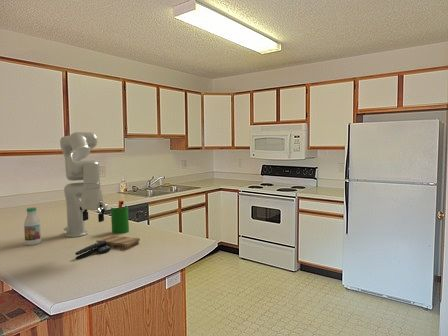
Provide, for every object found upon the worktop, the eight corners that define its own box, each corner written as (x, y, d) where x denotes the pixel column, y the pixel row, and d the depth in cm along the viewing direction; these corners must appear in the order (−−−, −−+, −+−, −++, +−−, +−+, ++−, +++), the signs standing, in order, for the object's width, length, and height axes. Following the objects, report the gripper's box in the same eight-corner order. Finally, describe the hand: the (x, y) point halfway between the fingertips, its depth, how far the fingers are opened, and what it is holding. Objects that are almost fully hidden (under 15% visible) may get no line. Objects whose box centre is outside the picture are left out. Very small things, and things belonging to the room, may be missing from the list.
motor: (124, 229, 211) (123, 198, 209) (132, 231, 205) (131, 199, 204) (109, 232, 203) (108, 200, 201) (117, 234, 197) (116, 202, 196)
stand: (96, 245, 176) (96, 240, 175) (110, 240, 186) (110, 235, 186) (127, 249, 169) (127, 244, 168) (140, 243, 179) (139, 238, 179)
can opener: (104, 249, 171) (104, 238, 171) (112, 251, 167) (112, 240, 167) (71, 258, 157) (71, 247, 157) (79, 261, 153) (78, 249, 153)
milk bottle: (26, 242, 184) (24, 207, 182) (42, 240, 186) (40, 206, 185) (23, 246, 176) (21, 209, 175) (39, 244, 179) (38, 208, 178)
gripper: (72, 187, 160) (73, 221, 161) (100, 188, 154) (102, 223, 155) (83, 185, 167) (85, 218, 168) (111, 186, 161) (112, 220, 162)
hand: (93, 220), depth 162 cm, fingers open, 9 cm apart
